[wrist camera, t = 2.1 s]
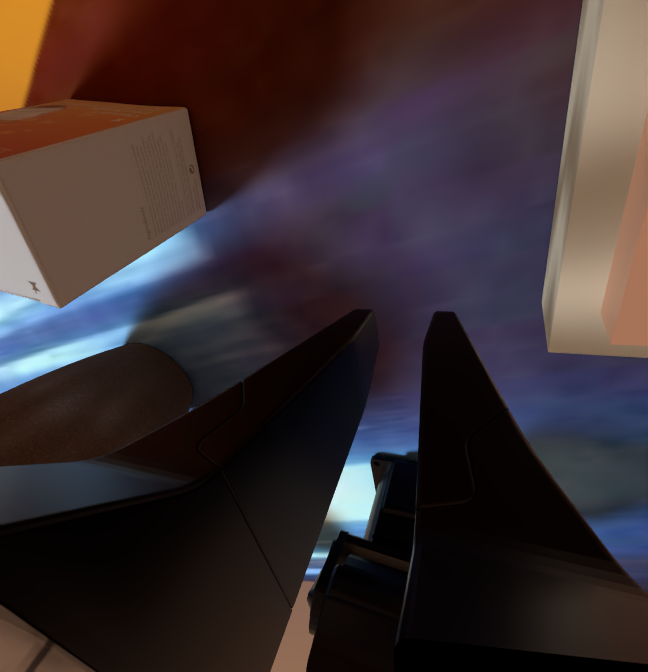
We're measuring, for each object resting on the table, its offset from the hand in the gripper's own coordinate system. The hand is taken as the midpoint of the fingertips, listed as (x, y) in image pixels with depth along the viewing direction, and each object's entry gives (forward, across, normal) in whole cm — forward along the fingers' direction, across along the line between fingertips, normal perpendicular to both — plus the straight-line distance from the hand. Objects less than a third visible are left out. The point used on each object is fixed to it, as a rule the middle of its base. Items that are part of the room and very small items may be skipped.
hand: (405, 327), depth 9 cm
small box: (+12, +17, -2) cm, 21 cm away
